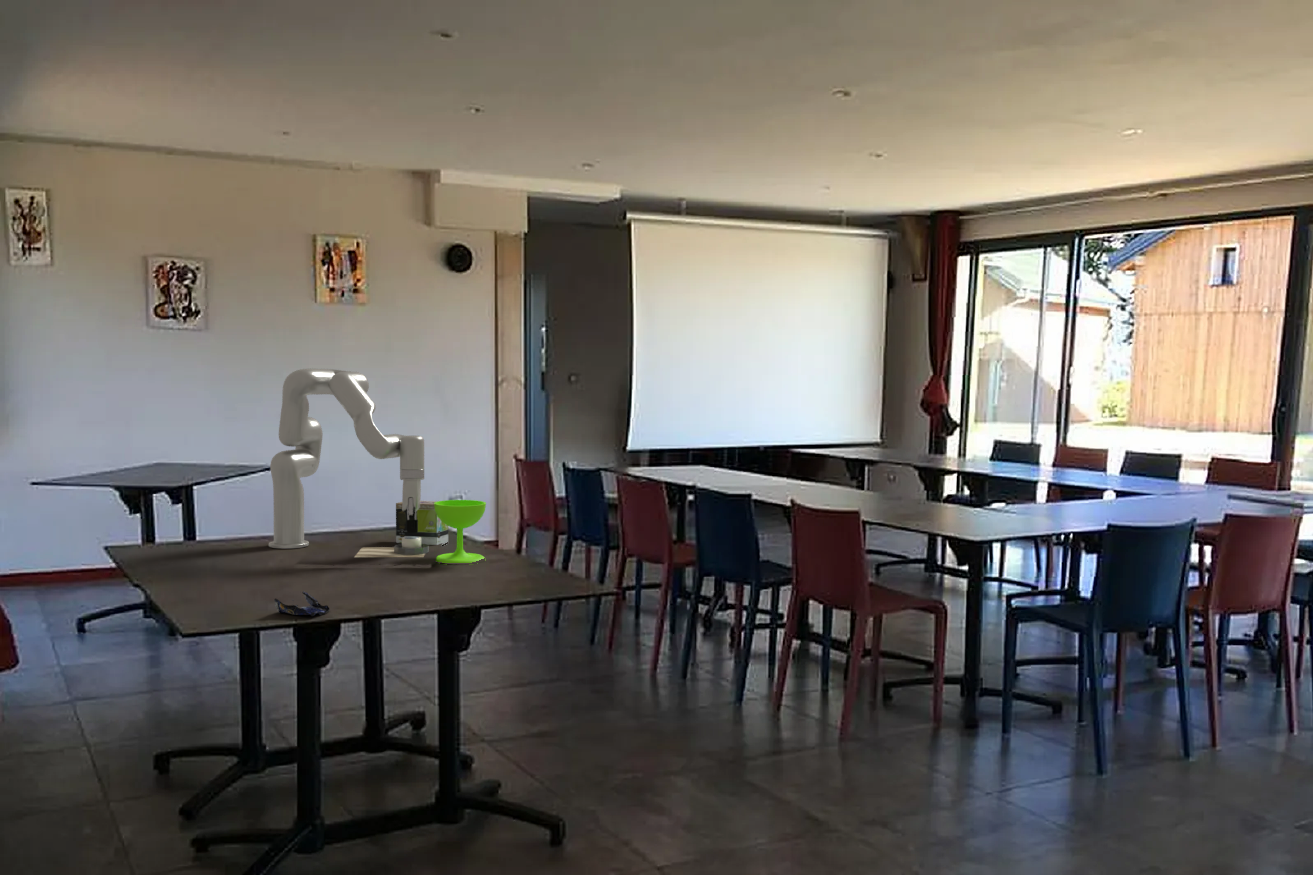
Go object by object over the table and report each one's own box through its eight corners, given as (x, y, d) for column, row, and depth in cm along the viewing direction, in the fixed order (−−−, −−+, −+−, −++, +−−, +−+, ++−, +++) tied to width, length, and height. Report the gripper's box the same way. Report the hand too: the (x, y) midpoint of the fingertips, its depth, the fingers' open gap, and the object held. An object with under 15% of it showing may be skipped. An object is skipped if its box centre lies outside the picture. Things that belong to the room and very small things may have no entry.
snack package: (308, 608, 272) (266, 614, 263) (311, 583, 271) (269, 589, 262) (336, 624, 265) (294, 631, 256) (340, 598, 264) (297, 605, 255)
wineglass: (473, 554, 351) (474, 498, 350) (493, 562, 337) (494, 504, 336) (425, 558, 342) (426, 501, 341) (444, 566, 329) (445, 507, 328)
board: (362, 551, 353) (362, 547, 353) (428, 551, 355) (428, 547, 355) (353, 561, 335) (353, 557, 335) (423, 560, 337) (423, 557, 337)
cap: (402, 550, 348) (402, 536, 348) (421, 550, 349) (422, 536, 349) (400, 553, 343) (400, 539, 342) (420, 553, 343) (420, 539, 343)
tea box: (449, 544, 370) (449, 500, 369) (436, 548, 360) (436, 504, 359) (408, 541, 373) (408, 498, 372) (394, 546, 364) (395, 502, 363)
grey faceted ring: (396, 549, 350) (396, 543, 350) (429, 549, 352) (429, 543, 351) (392, 554, 340) (392, 548, 340) (427, 554, 341) (427, 548, 341)
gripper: (402, 472, 351) (402, 529, 352) (397, 477, 336) (397, 536, 337) (426, 472, 352) (426, 528, 353) (422, 476, 337) (422, 535, 338)
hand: (412, 532), depth 345 cm, fingers closed
